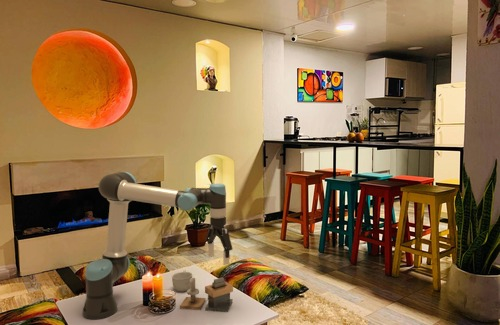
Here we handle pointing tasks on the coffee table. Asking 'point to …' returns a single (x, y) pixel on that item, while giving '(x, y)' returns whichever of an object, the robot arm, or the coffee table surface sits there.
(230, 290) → the brown wooden block
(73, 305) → the coffee table surface
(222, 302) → the grey stepped block
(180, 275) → the teacup
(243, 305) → the coffee table surface
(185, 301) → the stand
